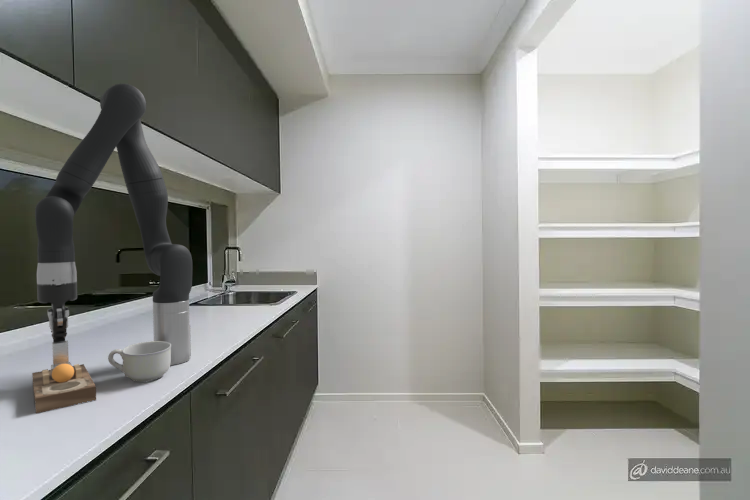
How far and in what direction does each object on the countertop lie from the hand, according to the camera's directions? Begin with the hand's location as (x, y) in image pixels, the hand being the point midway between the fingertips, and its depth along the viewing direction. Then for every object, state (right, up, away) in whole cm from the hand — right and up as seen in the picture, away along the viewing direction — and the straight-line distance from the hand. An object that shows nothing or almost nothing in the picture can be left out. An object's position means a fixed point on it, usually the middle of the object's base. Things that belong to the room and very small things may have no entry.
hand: (59, 353), depth 98 cm
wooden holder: (+5, -8, -5) cm, 11 cm away
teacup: (+17, -8, +4) cm, 19 cm away
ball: (+6, -3, -7) cm, 10 cm away
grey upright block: (+3, -4, -3) cm, 6 cm away
